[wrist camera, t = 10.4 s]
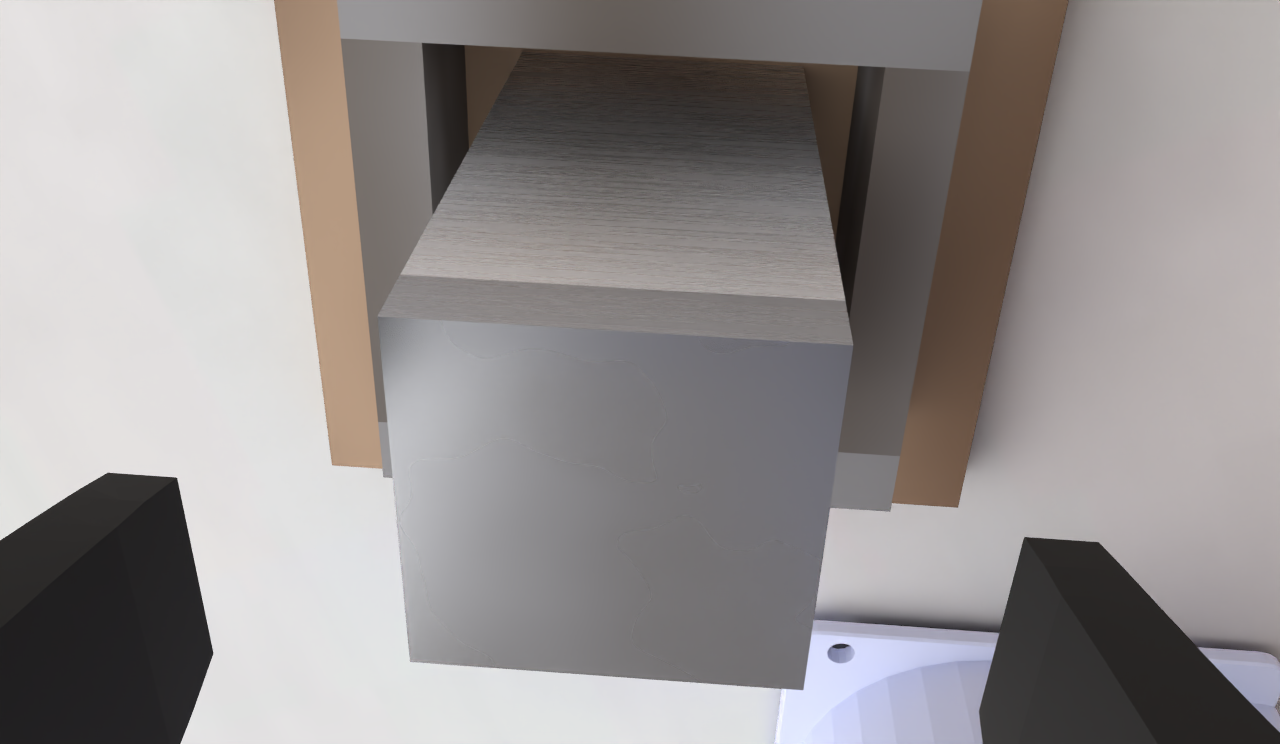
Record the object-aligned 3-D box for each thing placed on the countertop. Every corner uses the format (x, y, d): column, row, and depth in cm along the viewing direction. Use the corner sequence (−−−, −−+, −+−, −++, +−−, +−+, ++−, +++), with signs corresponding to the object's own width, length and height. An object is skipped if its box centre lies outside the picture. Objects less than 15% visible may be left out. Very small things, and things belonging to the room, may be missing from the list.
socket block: (1090, -201, 16) (1175, -171, 13) (948, 473, 21) (984, 605, 18) (271, -236, 16) (164, -215, 13) (347, 433, 22) (286, 556, 19)
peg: (802, 66, 17) (853, 345, 10) (777, 315, 19) (804, 690, 12) (522, 52, 17) (376, 316, 10) (527, 300, 19) (409, 662, 12)
